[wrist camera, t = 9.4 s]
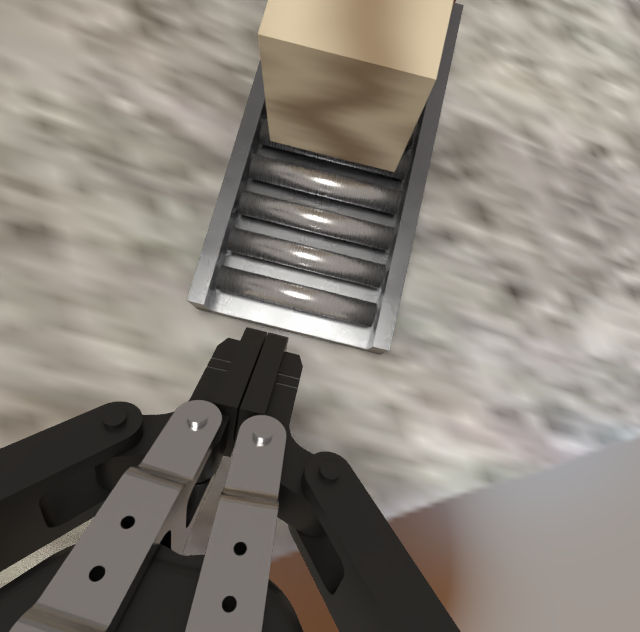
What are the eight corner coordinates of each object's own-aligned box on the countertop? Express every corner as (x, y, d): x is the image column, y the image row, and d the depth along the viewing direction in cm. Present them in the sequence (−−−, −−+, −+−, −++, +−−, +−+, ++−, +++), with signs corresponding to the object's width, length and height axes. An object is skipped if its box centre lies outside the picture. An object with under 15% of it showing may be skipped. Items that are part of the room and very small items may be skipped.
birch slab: (270, 140, 26) (257, 33, 18) (308, 7, 28) (312, -143, 20) (394, 172, 26) (436, 79, 18) (425, 37, 28) (475, -101, 20)
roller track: (198, 309, 27) (162, 282, 20) (291, -2, 31) (289, -114, 24) (380, 354, 27) (408, 343, 20) (448, 39, 31) (492, -61, 24)
